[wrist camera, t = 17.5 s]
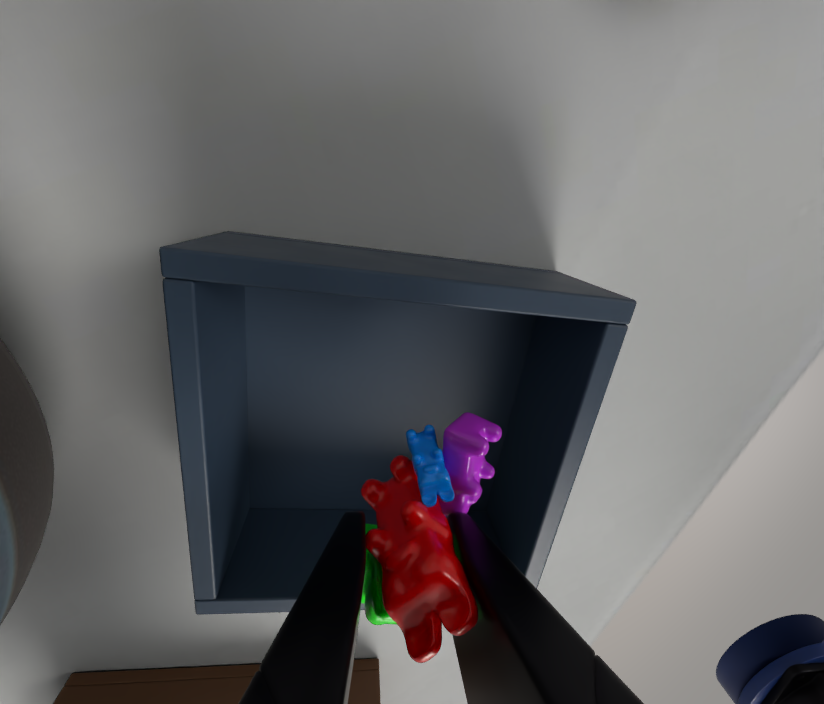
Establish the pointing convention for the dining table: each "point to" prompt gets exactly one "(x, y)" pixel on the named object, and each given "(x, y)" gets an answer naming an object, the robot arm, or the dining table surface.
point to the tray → (194, 685)
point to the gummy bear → (425, 534)
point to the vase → (21, 479)
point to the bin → (367, 395)
